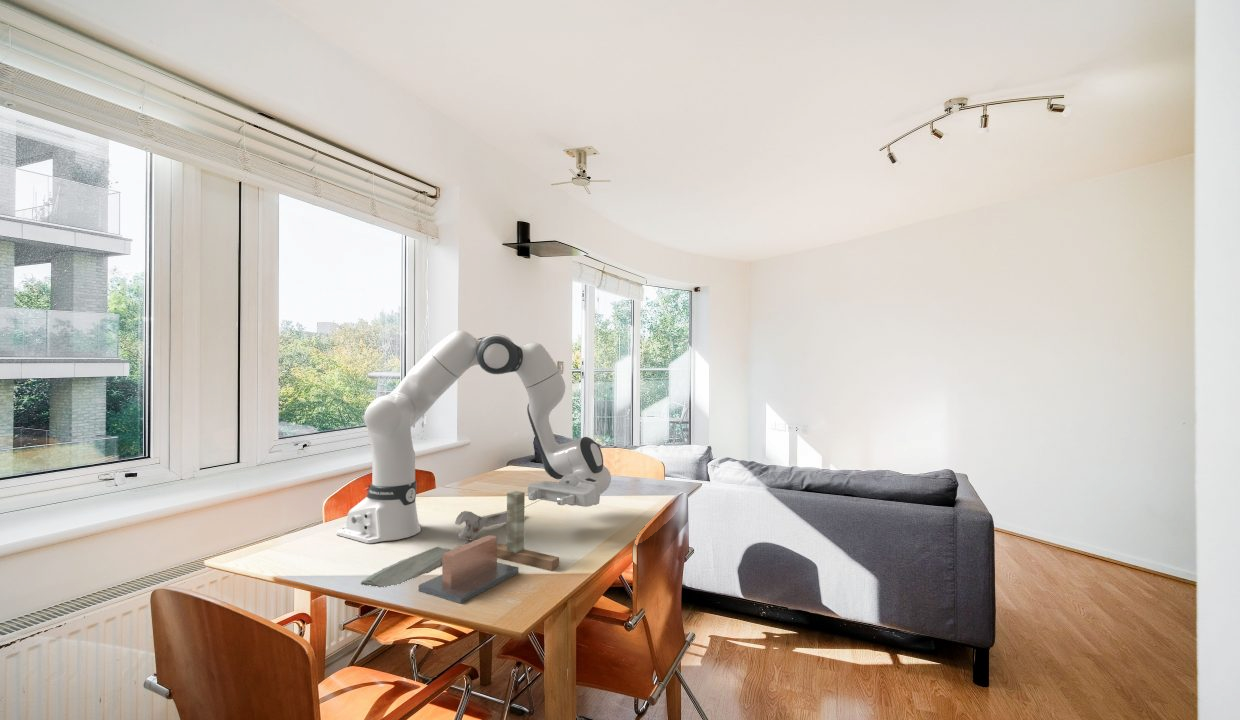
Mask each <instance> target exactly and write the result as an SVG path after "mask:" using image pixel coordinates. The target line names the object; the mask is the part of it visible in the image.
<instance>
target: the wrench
mask: <svg viewBox="0 0 1240 720" xmlns="http://www.w3.org/2000/svg"><path fill="white" fill-rule="evenodd" d="M454 523H455V525H458V526H460V525H462V524H463V523H465V527H464V529H463V530H461V531H460V532H459V533H458V534H457V536H458V538H460V539H463V540H468V539H471V540H470V541H475V538H476V535H478V534H479V532H480V531H481V530H483V529H484V528H488V527H490V526H495V525H501V524H503V523H507V510H504V511H500V512H496V513H492V514H488V515H483V516H480V515H477V514H476V513H474V512H472V511H467V510H464V511H461V512H460V513H459V514H458V515H457V517H456V519H455V521H454Z"/></svg>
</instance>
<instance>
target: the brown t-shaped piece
mask: <svg viewBox="0 0 1240 720" xmlns="http://www.w3.org/2000/svg"><path fill="white" fill-rule="evenodd" d="M525 494H526V493H525V492H524V491H518V490H512V491H510V492H507V493H506V511H507V522H506V545H505V544H501V543H498V542H497V560H503V561H507V562H510V563H515V564H520V565H524V566H527V567H533V568H536V569H540V570H545V571H548V572H553V571H554V570H557V569H558V568H560V557H559V556H556V555H551V554H546V553H542V552H537V551H534V550H533V551H532V550H529V549H525V497H526V496H525Z"/></svg>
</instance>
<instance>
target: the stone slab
mask: <svg viewBox="0 0 1240 720" xmlns="http://www.w3.org/2000/svg"><path fill="white" fill-rule="evenodd" d="M451 550H452V549H449V548H442V547H439V546H436V547H432V548H430V549H428V550H425V551H423V552H420V553H417V554H415V555H412V556H410V557H407V558H405V559H401V560H400V561H399V560H398V561H397V562H396V563H393V564H391V565H389V566H387V567H384V568H382V569H381V570H378V571H376V572H374V573H373V574H370V575H369V576H367V577H366V578H364V579H363V580H362V581H361V582H360V584H361V585H363V584H364V586H369V585H371V586H370V587H376V586H378V587H377V588H381V587H383V588H388V587H387V586H389V587H392V586H391V585H394V586H393V587H395V585H396V586H398V585H397V584H399V585H401V583H402V582H404V583H406V582H408V581H407V580H409V581H410V579H411V580H413V579H416V578H418V577H420V576H421V575H425V573H426V574H428V573H430V572H432V571H435V570H437V568H438V569H439V568H440V567H442V554H443V553H446V552H448V551H451ZM412 578H413V579H412ZM405 581H406V582H405ZM402 584H403V583H402ZM384 586H385V587H384Z"/></svg>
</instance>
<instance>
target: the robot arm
mask: <svg viewBox="0 0 1240 720" xmlns="http://www.w3.org/2000/svg"><path fill="white" fill-rule="evenodd" d="M476 365H477V366H480V368H481V369H482V370H483V371H484V372H486V373H488V374H492V375H502V374H503V375H504V374H508V373H516V374H517V375H518V376H519V379H521V380H520V381H521V382H522V384H523V386H524V387H525V390H526V392H527V395H528V404H527V407H526V408H527V409H526V410H527V416H528V420H529V423H530V425H531V428H532V431H533V434H534V437H535V440H536V443H537V446H538V448H539V452H540V456H541V461H542V465H543V468H544V471H545V473H547V474H548V476H550V477H551V478H553V479H555V480H559V482H557V481H550V480H543V481H538V482H537V481H536V482H531V483H530V484H529V483H528V486H527V497H528V500H529V501H536V500H542V501H547V502H553V503H557V505H558V506H566V505H568V506H571V507H573V506H579V507H583V508H585V507H591V506H597V505H599V504H600V499H601V494H603V493H604V492H606V491H607V490H608V488H609V487H610V485H611V481H612V476H611V472H610V471H609V469H608V467H606V466H605V465H604V456H603V453H602V449H601V447H600V446H599V444H598V443H597V442H596V441H595V440H594V439H592V438H590V437H588V436H584V437H580V438H577V439H574V440H572V441H568V442H566V443H563V444H562V443H561V444H559V443H558V442H557V441H556V438H555V435H554V431H553V429H552V427H551V424H550V414H551V413H552V411H553V410H554V409H555V408H556V407H557V406H558V405H559V404H560V403H561V401H562V400H563V398H564V395H565V393H566V384H565V380H564V378H563V376H562V374H561V372H560V370H559V367H558V366H557V364H556V362H555V361H554V359H553V358H552V357H551V355H550V354H549V352H548V350H547V349H546V348H545V347H544V345H542V344H541V343H538V342H530V343H527V344H524V345H520V346H519V345H517V344H515V342H514V341H513V340H512V339H510V338H509V337H508V336H506V335H504V334H499V333H498V334H497V333H495V334H491V335H487V336H484V337H480V338H476V337H475V336H473V335H472V334H471V333H470V332H467V331H465V330H460V329H459V330H455V331H453V332H451V333H450V334H449V335H447V336H446V337H444V338H443V339H441V340H440V341H439V342H438V343H437V344H435V345H434V346H433V347H432V348H431V349H430V350H429V351H428V352H427V353H426V354H424V355H423V357H421V359H420V360H418V362H417V363H415V365H414V366H413V367H411V369H409V370H408V372H407V373H406V375H405V377H404V378H402V380H401V381H400V383H399V384H398V385H397V386H396V387H395V388H394V389H393V390H392V391H391V392H390V393H388V394H387V395H382V396H378V397H377V398H375V399H373V400H372V402H370V404H369V405H368V406H367V408H366V410H365V412H364V417H363V421H364V424H365V426H366V428H367V432H368V438H369V439H368V440H369V443H370V449H371V460H372V463H371V464H372V465H371V466H372V467H371V468H372V469H371V471H372V472H371V473H372V474H371V475H372V477H371V478H372V481H371V483H370V485H366V486H364V489H363V491H365V492H366V491H367V494H366V497H365V498H363V499H361V501H359V502H358V503H357V504H356V505H355V506H353V507H351V509H350V510H349V511H348V513H347V516H346V521H345V522H346V523H345V525H343V526H342V527H340V528H339V529H337V530H336V535H337V536H341V537H344V538H346V539H347V538H348V539H352V540H355V541H358V542H362V543H366V544H375V543H379V542H388V541H397V540H401V539H406V538H410V537H413V536H415V535H417V534H419V533H420V532H421V526H420V521H419V519H418V517H419V516H418V511H417V509H418V508H417V503H416V498H417V491H418V490H417V486H418V484H417V480H416V451H415V449H414V445H413V440H412V439H413V438H412V431H411V430H412V429H411V428H412V427H413V426H414V425H416V424H417V422H418V421H419V420H420V419H421V418H422V417H423V416H425V414H426V413H427V412H428V411H429V409H431V408H432V406H433V405H434V404H435V403H436V402H437V401H438V399H439V398H441V396H442V395H443V394H444V393H445V392H446V391H447V390H449V388H451V386H452V385H453V384H454V383H455V382H456V381H458V379H460V377H461V376H463V374H464V373H465V372H467V370H469V369H470V368H471V367H473V366H476Z"/></svg>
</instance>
